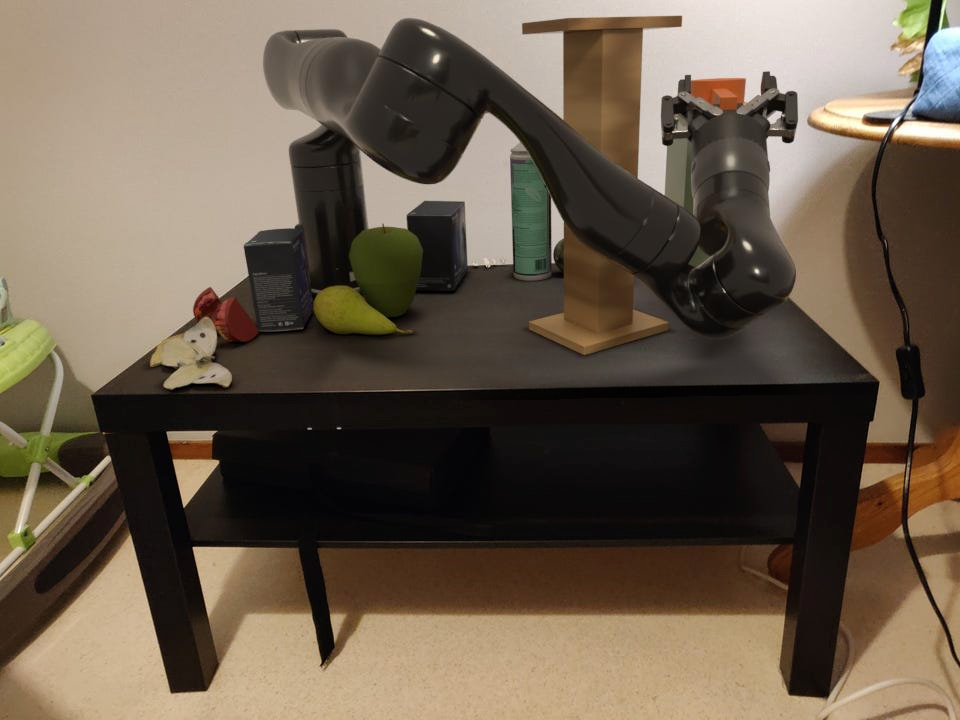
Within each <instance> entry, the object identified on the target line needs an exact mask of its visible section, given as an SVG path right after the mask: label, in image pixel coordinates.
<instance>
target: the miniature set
mask: <svg viewBox="0 0 960 720" xmlns="http://www.w3.org/2000/svg"><path fill="white" fill-rule="evenodd" d="M481 260H482V261H484V265H485V267H486V268H488V269H489V268H490V267H491V264H490V262H489V258H486V257H484V258H482V259H481ZM490 261H491V262H492V263H493V265H494V266H496V265H497V262H496V258H490ZM499 261H500V263H501V264H502V265H506V261H507V259H506V258H504V257H503V256H500V257H499ZM467 264H468V262H467ZM472 266H475V267H478V266H480V264H479V263H478V262H477V261H476V260H473V261H472Z"/></svg>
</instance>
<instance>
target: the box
mask: <svg viewBox="0 0 960 720" xmlns="http://www.w3.org/2000/svg"><path fill="white" fill-rule="evenodd" d="M243 251H244V257H245V262H246V269H247V275H248V280H249V286H250V291H251V298H252V304H253V308H254V309H253V310H254V315H255V321H256V327H257V329H258V330H259V332H265V333H270V332H271V333H273V332H274V333H275V332H277V333H278V332H288V331H296V330H297V331H298V330H304V328H305V326H306V324H307V323H308V321H309V319H310V318H311V315H312V314H313V313H314V310H313V305H314V298H313V295H312V291H311V284H310V277H309V270H308V263H307V257H306V249H305V243H304V235H303V230H302V229H296V228H295V227H294V228H293V227H292V228H291V227H289V228H288V227H286V228H274V229H266V230H259V231H257V233H256V234H255V235H254V236H252V238H250V239H249V240H248V241H247V242H245V243H244V245H243Z"/></svg>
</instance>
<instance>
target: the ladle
mask: <svg viewBox="0 0 960 720" xmlns="http://www.w3.org/2000/svg"><path fill="white" fill-rule="evenodd" d="M746 83H747V78H745V77H724V78H723V77H722V78H721V77H719V78H702V79H691V95H692V96H694V97H695V98H698V97H701V98H703V99H704V100H706V101H707V102H708V103H710V104H711V105H713V104H719V108H720V109H722V110H736V109H737V103H744V102H745V95H746Z"/></svg>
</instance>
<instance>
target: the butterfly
mask: <svg viewBox="0 0 960 720" xmlns="http://www.w3.org/2000/svg"><path fill="white" fill-rule="evenodd" d="M183 333H184V334H183ZM183 333H182V334H183V335H182V338H183V339H181V338H173V339H170V340H168V341H167V342H165V343H164V344H163V347H162V354H161V362H162V364H161V365H162V366H167V367H172V368H174V369H175V371H173V373H171V374H170V376H169V377H168V378H166V380H165V381H164V382H163V385H162V386H163V388H165V389H167V390H170V391H172V390H174V389H177V388H181V387H186V386H189V385H190V384H195V385H197V384H198V385H199V384H201V385H202V384H216V385H219V386H220V387H222V388H229V387H230V385H231V383H232V380H233V376H232V372H231V371H229V369H228V368H226V367H224V366H223V365H221V364H220V363H216V362H213V361H215V358H216V356H214V355H213V354H214V353H215V351H216V348H217V344H218V334H217V333H216V329H215V325H214V323H213V321H212V320H211V319H210V318H208V317H204V318H202V319H201V320H200V321H199V322H198V323H197V322H196V324H195V325H194V326H192V327H191V328H189V329H188V330H185V331H184V332H183Z"/></svg>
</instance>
